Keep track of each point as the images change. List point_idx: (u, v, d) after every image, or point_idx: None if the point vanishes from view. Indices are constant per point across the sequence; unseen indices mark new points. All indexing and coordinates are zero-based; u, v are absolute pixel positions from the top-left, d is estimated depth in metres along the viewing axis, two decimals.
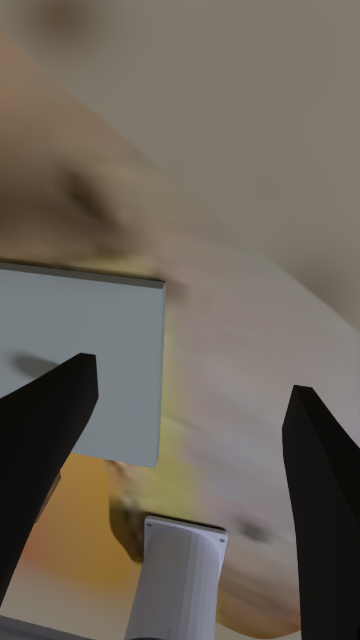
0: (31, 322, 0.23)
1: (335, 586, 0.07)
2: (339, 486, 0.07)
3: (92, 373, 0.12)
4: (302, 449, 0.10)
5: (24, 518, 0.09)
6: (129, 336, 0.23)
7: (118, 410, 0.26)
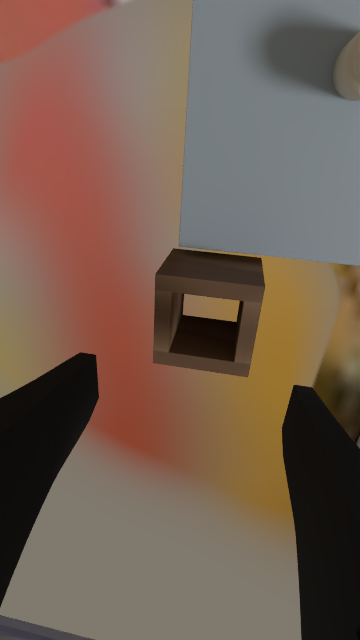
0: None
1: (335, 586, 0.07)
2: (339, 486, 0.07)
3: (92, 373, 0.12)
4: (302, 449, 0.10)
5: (24, 518, 0.09)
6: None
7: None
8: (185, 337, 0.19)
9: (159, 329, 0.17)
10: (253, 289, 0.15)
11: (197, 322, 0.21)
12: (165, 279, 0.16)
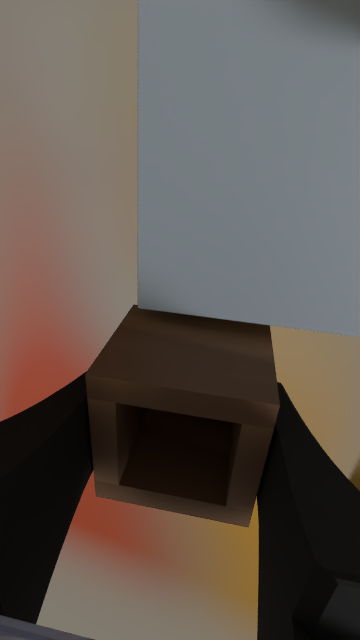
0: None
1: (281, 574, 0.07)
2: (288, 477, 0.07)
3: None
4: None
5: (60, 526, 0.09)
6: None
7: None
8: (150, 446, 0.12)
9: (100, 453, 0.10)
10: (258, 407, 0.08)
11: (172, 411, 0.14)
12: (103, 383, 0.09)
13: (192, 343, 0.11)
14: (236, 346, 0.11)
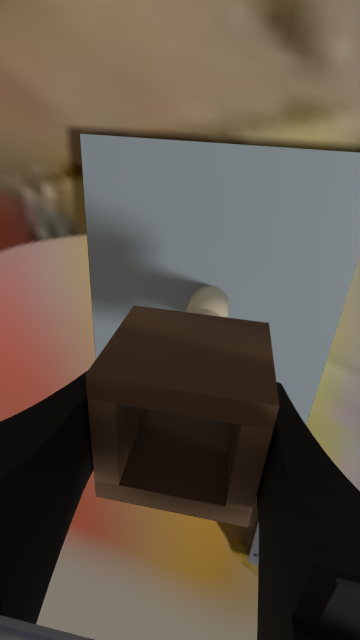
0: (177, 222, 0.17)
1: (281, 574, 0.07)
2: (288, 477, 0.07)
3: None
4: None
5: (60, 526, 0.09)
6: (319, 235, 0.16)
7: (273, 348, 0.20)
8: (150, 446, 0.12)
9: (100, 454, 0.10)
10: (258, 408, 0.08)
11: None
12: (103, 384, 0.09)
13: (192, 344, 0.11)
14: (236, 347, 0.11)
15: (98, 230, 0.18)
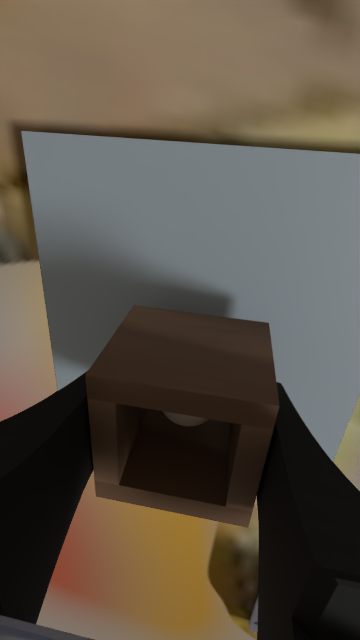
0: (154, 248, 0.13)
1: (281, 574, 0.07)
2: (288, 477, 0.07)
3: None
4: None
5: (60, 526, 0.09)
6: (345, 268, 0.12)
7: None
8: (150, 446, 0.12)
9: (100, 454, 0.10)
10: (258, 408, 0.08)
11: None
12: (103, 384, 0.09)
13: (192, 344, 0.11)
14: (236, 347, 0.11)
15: (53, 257, 0.14)
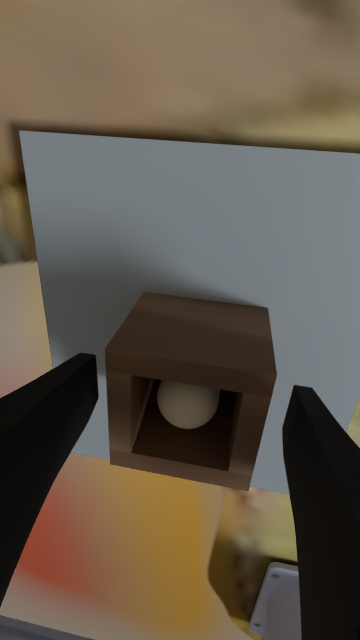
0: (154, 249, 0.13)
1: (335, 586, 0.07)
2: (339, 486, 0.07)
3: (92, 373, 0.12)
4: (302, 449, 0.10)
5: (24, 518, 0.09)
6: (345, 269, 0.12)
7: (281, 407, 0.15)
8: (159, 420, 0.13)
9: (116, 423, 0.11)
10: (258, 377, 0.10)
11: None
12: (120, 357, 0.10)
13: (198, 324, 0.12)
14: (238, 327, 0.12)
15: (52, 257, 0.14)
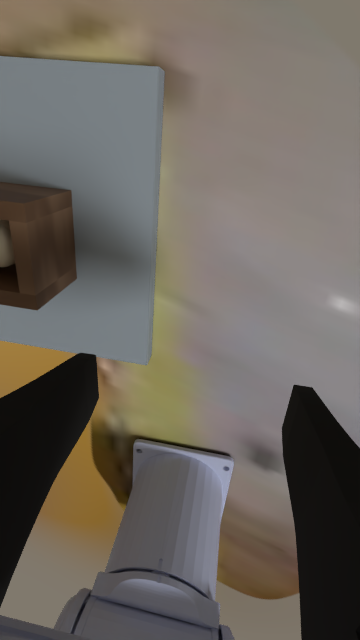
0: None
1: (335, 586, 0.07)
2: (339, 486, 0.07)
3: (92, 373, 0.12)
4: (302, 449, 0.10)
5: (24, 518, 0.09)
6: (114, 155, 0.17)
7: (100, 278, 0.20)
8: None
9: None
10: (13, 206, 0.14)
11: None
12: None
13: (2, 190, 0.16)
14: (31, 192, 0.16)
15: None
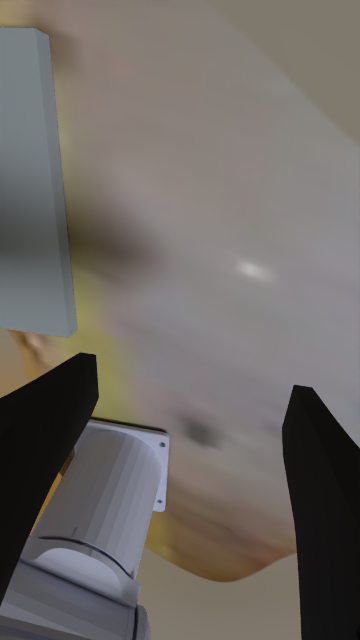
0: None
1: (335, 586, 0.07)
2: (339, 486, 0.07)
3: (92, 373, 0.12)
4: (302, 449, 0.10)
5: (24, 518, 0.09)
6: (6, 121, 0.17)
7: (12, 249, 0.20)
8: None
9: None
10: None
11: None
12: None
13: None
14: None
15: None
